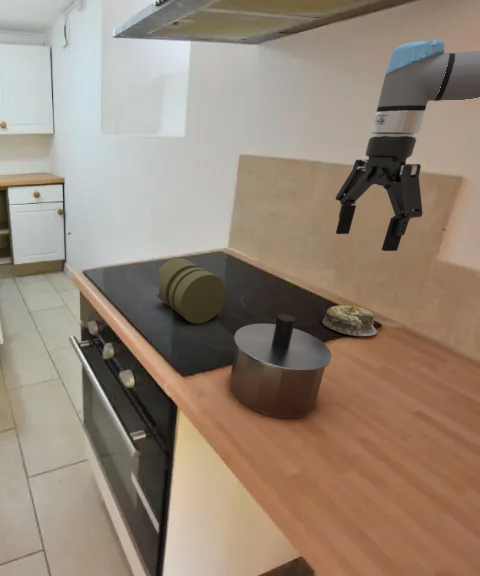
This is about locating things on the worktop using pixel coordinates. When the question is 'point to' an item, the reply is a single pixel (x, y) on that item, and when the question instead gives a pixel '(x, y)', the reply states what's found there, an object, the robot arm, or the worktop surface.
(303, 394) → the pot
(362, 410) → the worktop surface
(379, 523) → the worktop surface
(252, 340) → the pot lid
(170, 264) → the piston
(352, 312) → the cake
